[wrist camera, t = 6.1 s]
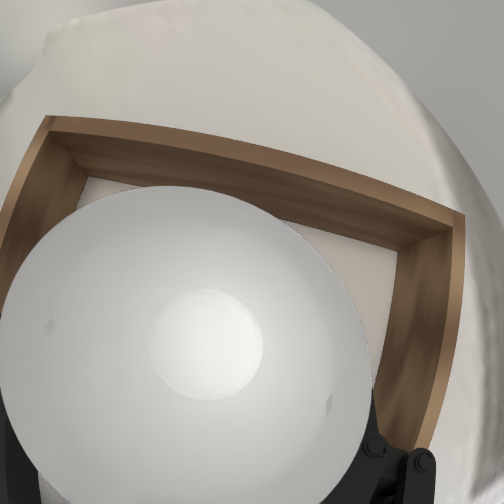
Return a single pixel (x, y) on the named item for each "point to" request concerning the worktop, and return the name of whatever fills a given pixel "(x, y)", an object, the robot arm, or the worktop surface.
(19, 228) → the u-shaped wooden rail
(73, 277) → the cup
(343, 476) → the robot arm
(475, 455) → the worktop surface
